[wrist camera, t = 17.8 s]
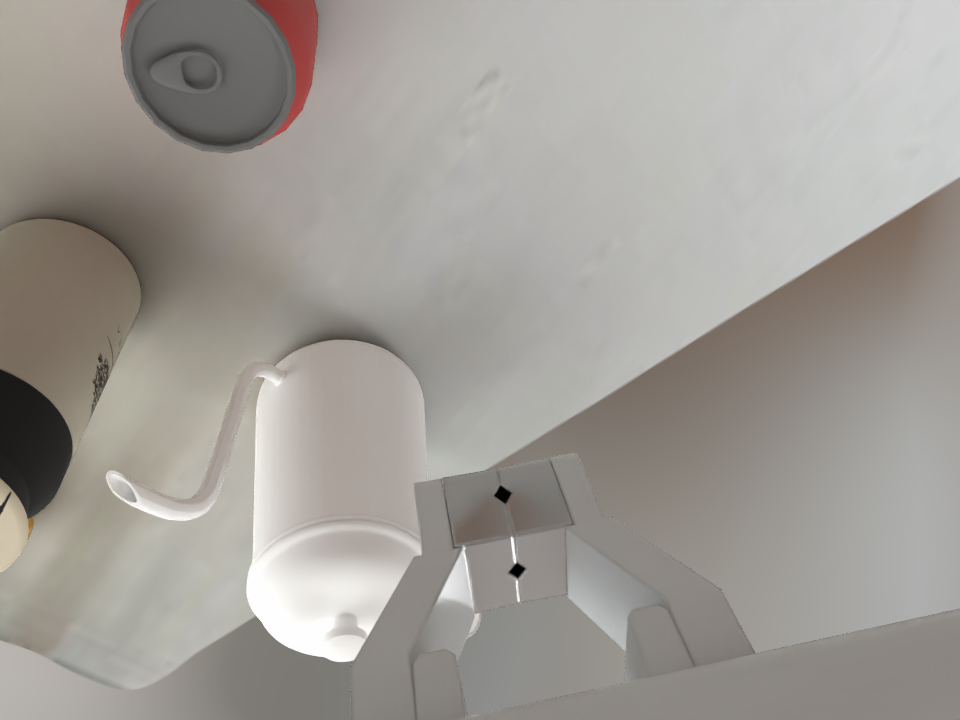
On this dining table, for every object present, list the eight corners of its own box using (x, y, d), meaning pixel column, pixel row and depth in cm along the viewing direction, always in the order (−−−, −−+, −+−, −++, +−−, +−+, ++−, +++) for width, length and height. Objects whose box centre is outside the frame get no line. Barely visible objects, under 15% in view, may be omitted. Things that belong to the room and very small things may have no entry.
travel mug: (-44, 289, 38) (-276, 545, 24) (29, 186, 36) (-181, 400, 21) (96, 363, 42) (-30, 620, 28) (170, 275, 40) (75, 506, 25)
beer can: (157, -66, 31) (73, -39, 21) (308, -68, 32) (296, -41, 22) (192, 89, 34) (135, 173, 25) (326, 83, 35) (322, 163, 26)
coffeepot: (250, 214, 39) (195, 435, 23) (507, 449, 52) (577, 686, 37) (121, 328, 41) (-5, 593, 26) (398, 524, 55) (421, 773, 40)
